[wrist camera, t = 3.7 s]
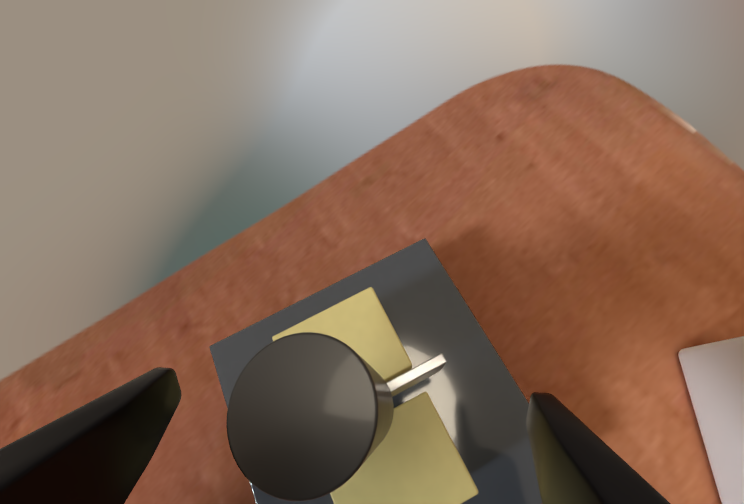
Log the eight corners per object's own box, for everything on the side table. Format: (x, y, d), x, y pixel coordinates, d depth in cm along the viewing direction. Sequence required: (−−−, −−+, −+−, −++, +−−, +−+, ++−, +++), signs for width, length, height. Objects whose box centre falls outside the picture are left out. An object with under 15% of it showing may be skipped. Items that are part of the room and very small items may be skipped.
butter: (467, 476, 15) (479, 493, 12) (367, 534, 14) (356, 565, 12) (377, 304, 18) (371, 285, 15) (293, 347, 17) (270, 336, 15)
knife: (455, 399, 13) (513, 391, 5) (299, 485, 12) (130, 604, 5) (421, 337, 14) (431, 258, 6) (275, 415, 13) (102, 426, 6)
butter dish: (552, 470, 17) (579, 482, 14) (317, 607, 16) (297, 649, 13) (423, 258, 22) (425, 237, 19) (235, 353, 21) (208, 346, 18)
